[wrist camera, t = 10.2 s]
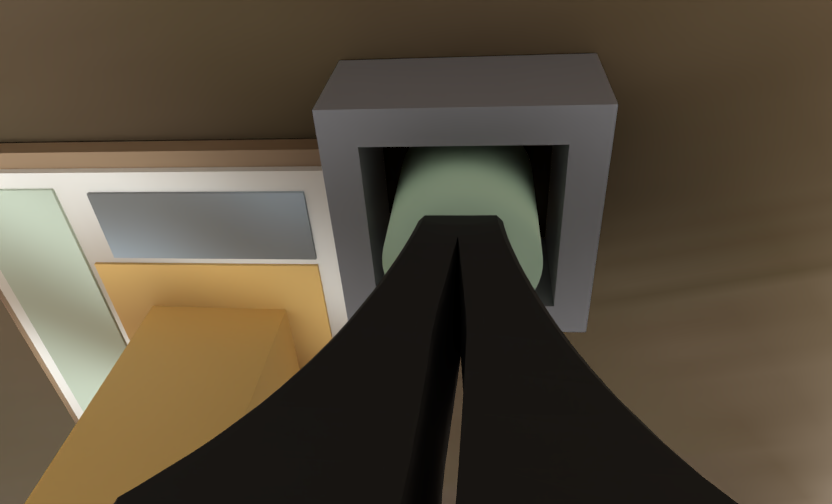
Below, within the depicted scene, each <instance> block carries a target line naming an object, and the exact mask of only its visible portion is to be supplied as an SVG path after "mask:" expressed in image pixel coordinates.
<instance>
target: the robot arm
mask: <svg viewBox="0 0 832 504" xmlns="http://www.w3.org/2000/svg"><path fill="white" fill-rule="evenodd" d="M460 357H461V365H462V379H463V409H462V425H461V440H460V455H459V470H458V483H457V496H456V504H738V503H736V502H735V501H734V500H732V499H731V498H730V497H728V496H727V495H726V494H724V493H723V492H722V491H721V490H719V489H718V488H717V487H715V486H714V485H713V484H711V483H710V482H709V481H707V480H706V479H705V478H703V477H702V476H701V475H700V474H699V473H698V472H696V471H695V470H694V469H693V468H692V467H691V466H689V465H688V464H687V463H686V462H685V461H684V460H683V459H681V458H680V457H679V456H678V455H677V454H676V453H675V452H673V451H672V450H671V449H670V448H669V447H668V446H666V445H665V444H664V443H663V442H662V441H661V440H660V439H659V438H658V437H657V436H656V435H655V434H654V433H653V432H652V431H651V430H650V429H649V428H648V427H647V426H646V425H645V424H644V423H643V422H642V421H641V420H640V419H639V418H638V417H637V416H636V415H634V414H633V413H632V412H631V411H630V410H629V409H628V408H627V407H626V406H625V405H624V404H623V403H622V402H621V401H620V400H619V399H618V398H617V397H616V396H615V395H614V394H613V393H612V391H611V390H610V389H609V388H608V387H607V386H606V385H605V384H604V382H603V381H602V380H601V379H600V378H599V377H598V376H597V375H596V374H595V372H594V371H593V370H592V369H591V368H590V367H589V365H588V364H587V363H586V362H585V360H584V359H583V358H582V357H581V356H580V354H579V353H578V352H577V351H576V349H575V348H574V347H573V346H572V344H571V343H570V342H569V340H568V339H567V338H566V336H565V335H564V334H563V332H562V331H561V330H560V328H559V327H558V325H557V324H556V322H555V321H554V319H553V318H552V316H551V315H550V314H549V312H548V311H547V309H546V308H545V306H544V304H543V303H542V301H541V300H540V298H539V297H538V295H537V293H536V292H535V290H534V288H533V286H532V285H531V283H530V281H529V279H528V278H527V276H526V274H525V272H524V271H523V269H522V267H521V265H520V263H519V261H518V259H517V257H516V255H515V252H514V250H513V248H512V246H511V244H510V241H509V239H508V236H507V233H506V230H505V227H504V223H503V221H502V220H501V219H500V218H499V217H498V216H497V215H425V216H423V217H422V218H421V219H420V220H419V221H418V223H417V225H416V227H415V229H414V230H413V232H412V234H411V236H410V238H409V239H408V241H407V242H406V244H405V246H404V247H403V249H402V250H401V252H400V254H399V255H398V257H397V258H396V260H395V261H394V263H393V264H392V265H391V267H390V268H389V270H388V271H387V272H386V274H385V275H384V277H383V278H382V279H381V281H380V282H379V284H378V285H377V286H376V288H375V289H374V290H373V291H372V293H371V294H370V295H369V296H368V298H367V299H366V300H365V301H364V302H363V304H362V305H361V306H360V307H359V309H358V310H357V311H356V312H355V313H354V315H353V316H352V317H351V318H350V319H349V321H348V322H347V323H346V324H345V325H344V326H343V327H342V328H341V329H340V331H339V332H338V333H337V334H336V335H335V336H334V337H333V338H332V339H331V340H330V341H329V342H328V343H327V344H326V345H325V346H324V347H323V348H322V349H321V350H320V351H319V352H318V353H317V354H316V355H315V356H314V357H313V358H312V359H311V360H310V361H309V362H308V363H307V364H306V365H305V366H304V367H302V368H301V369H300V370H299V371H298V372H297V373H296V374H295V375H293V376H292V377H291V378H290V379H289V380H288V381H287V382H286V383H285V384H283V385H282V386H281V387H280V388H279V389H278V390H276V391H275V392H274V393H273V394H272V395H270V396H269V397H268V398H267V399H266V400H264V401H263V402H262V403H261V404H259V405H258V406H257V407H255V408H254V409H253V410H251V411H250V412H249V413H247V414H246V415H245V416H243V417H242V418H240V419H239V420H238V421H236V422H235V423H234V424H232V425H231V426H230V427H228V428H227V429H226V430H224V431H223V432H222V433H220V434H219V435H217V436H216V437H214V438H213V439H212V440H210V441H209V442H207V443H206V444H204V445H203V446H201V447H200V448H198V449H197V450H195V451H194V452H192V453H190V454H189V455H187V456H186V457H184V458H182V459H181V460H179V461H177V462H176V463H174V464H172V465H171V466H169V467H168V468H166V469H164V470H163V471H161V472H159V473H158V474H156V475H154V476H153V477H151V478H150V479H148V480H146V481H145V482H143V483H141V484H140V485H138V486H136V487H135V488H133V489H131V490H130V491H128V492H126V493H124V494H123V495H121V496H119V497H118V498H117V499H116V501H115V502H114V504H442V489H443V479H444V469H445V462H446V455H447V448H448V441H449V434H450V427H451V420H452V413H453V406H454V400H455V393H456V386H457V379H458V372H459V365H460Z"/></svg>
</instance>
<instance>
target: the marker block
mask: <svg viewBox="0 0 832 504" xmlns="http://www.w3.org/2000/svg"><path fill="white" fill-rule="evenodd" d="M299 370H300V368H299V364H298V360H297V355H296V351H295V347H294V342H293V338H292V334H291V329H290V325H289V320H288V316H287V312H286V310H285V309H249V308H212V307H176V306H152V308H151V309H150V311H149V313H148V314H147V316H146V317H145V319H144V320H143V322H142V323H141V325H140V326H139V328H138V329H137V331H136V333H135V334H134V336H133V337H132V339H131V340H130V342H129V343H128V345H127V346H126V348H125V350H124V351H123V353H122V354H121V356H120V357H119V359H118V360H117V362H116V363H115V365H114V366H113V368H112V370H111V371H110V373H109V374H108V376H107V377H106V379H105V380H104V382H103V383H102V385H101V387H100V388H99V390H98V391H97V393H96V394H95V396H94V397H93V399H92V400H91V402H90V403H89V405H88V407H87V408H86V410H85V411H84V413H83V414H82V416H81V417H80V419H79V420H78V422H77V424H76V425H75V427H74V428H73V430H72V431H71V433H70V434H69V436H68V437H67V439H66V440H65V442H64V444H63V445H62V447H61V448H60V450H59V451H58V453H57V454H56V456H55V457H54V459H53V461H52V462H51V464H50V465H49V467H48V468H47V470H46V471H45V473H44V474H43V476H42V477H41V479H40V481H39V482H38V484H37V485H36V487H35V488H34V490H33V491H32V493H31V494H30V496H29V498H28V499H27V501H26V502H25V504H114V502H115V501H116V499H117V498H118V497H119V496H121V495H123V494H124V493H126V492H128V491H130V490H131V489H133V488H135V487H136V486H138V485H140V484H141V483H143V482H145V481H146V480H148V479H150V478H151V477H153V476H154V475H156V474H158V473H159V472H161V471H163V470H164V469H166V468H168V467H169V466H171V465H172V464H174V463H176V462H177V461H179V460H181V459H182V458H184V457H186V456H187V455H189V454H190V453H192V452H194V451H195V450H197V449H198V448H200V447H201V446H203V445H204V444H206V443H207V442H209V441H210V440H212V439H213V438H214V437H216V436H217V435H219V434H220V433H222V432H223V431H224V430H226V429H227V428H228V427H230V426H231V425H232V424H234V423H235V422H236V421H238V420H239V419H240V418H242V417H243V416H245V415H246V414H247V413H249V412H250V411H251V410H253V409H254V408H255V407H257V406H258V405H259V404H261V403H262V402H263V401H264V400H266V399H267V398H268V397H269V396H270V395H272V394H273V393H274V392H275V391H276V390H278V389H279V388H280V387H281V386H282V385H283V384H285V383H286V382H287V381H288V380H289V379H290V378H291V377H292V376H293V375H295V374H296V373H297V372H298V371H299Z"/></svg>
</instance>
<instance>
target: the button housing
mask: <svg viewBox="0 0 832 504" xmlns="http://www.w3.org/2000/svg"><path fill="white" fill-rule="evenodd" d="M617 110H618V103H617V100H616V98H615V95H614V93H613V91H612V88H611V86H610V83H609V81H608V79H607V76H606V74H605V71H604V69H603V67H602V64H601V62H600V60H599V57H598V55H597V53H588V54H552V55H517V56H481V57H445V58H410V59H374V60H339V62H338V64H337V66H336V67H335V69H334V71H333V73H332V75H331V77H330V78H329V80H328V82H327V84H326V86H325V88H324V89H323V91H322V93H321V95H320V97H319V98H318V100H317V102H316V104H315V106H314V108H313V109H312V113H313V119H314V124H315V130H316V136H317V142H318V148H319V154H320V160H321V166H322V171H323V177H324V183H325V189H326V195H327V201H328V207H329V213H330V218H331V224H332V230H333V236H334V242H335V248H336V254H337V260H338V265H339V271H340V277H341V283H342V289H343V295H344V301H345V307H346V312H347V318H348V321H349V319H350V318H351V317H352V316H353V315H354V313H355V312H356V311H357V310H358V309H359V307H360V306H361V305H362V304H363V302H364V301H365V300H366V299H367V298H368V296H369V295H370V294H371V293H372V291H373V290H374V289H375V288H376V286H377V285H378V284H379V282H380V281H381V279H382V278H383V277H384V275H385V274H384V270H383V265H382V254H383V247H384V242H385V238H386V234H387V229H388V225H389V220H390V212H389V202H388V192H387V183H386V173H385V163H384V153H383V147H423V146H504V145H552V155H551V168H550V181H549V194H548V206H547V219H546V232H545V238H541V246H542V255H543V269H542V275H541V278H540V281H539V283H538V285H537V287H536V289H535V292H536V293H537V295H538V297H539V298H540V300H541V301H542V303H543V304H544V306H545V308H546V309H547V311H548V312H549V314H550V315H551V316H552V318H553V319H554V321H555V322H556V324H557V325H558V327H559V328H560V330H561V331H562V332H586V328H587V321H588V314H589V307H590V300H591V293H592V286H593V279H594V272H595V265H596V258H597V251H598V244H599V237H600V229H601V222H602V215H603V208H604V201H605V194H606V187H607V180H608V173H609V166H610V159H611V152H612V145H613V138H614V131H615V124H616V117H617Z"/></svg>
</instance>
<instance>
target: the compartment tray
mask: <svg viewBox="0 0 832 504" xmlns="http://www.w3.org/2000/svg"><path fill="white" fill-rule="evenodd" d="M0 299H1V301H2V302H3V304H4V306H5V307H6V309H7V311H8V312H9V314H10V316H11V317H12V319H13V321H14V322H15V324H16V326H17V327H18V329H19V330H20V332H21V334H22V335H23V337H24V339H25V340H26V342H27V344H28V345H29V347H30V349H31V350H32V352H33V354H34V355H35V357H36V359H37V360H38V362H39V363H40V365H41V367H42V368H43V370H44V372H45V373H46V375H47V377H48V378H49V380H50V382H51V383H52V385H53V387H54V388H55V390H56V392H57V393H58V395H59V397H60V398H61V400H62V401H63V403H64V405H65V406H66V408H67V410H68V411H69V413H70V415H71V416H72V418H73V420H74V421H75V423H76V424H77V422H78V420H79V419H80V417H81V416H82V414H83V413H84V411H85V410H86V408H87V407H88V405H89V403H90V402H91V400H92V399H93V397H94V396H95V394H96V393H97V391H98V390H99V388H100V387H101V385H102V383H103V382H104V380H105V379H106V377H107V376H108V374H109V373H110V371H111V370H112V368H113V366H114V365H115V363H116V362H117V360H118V359H119V357H120V356H121V354H122V353H123V351H124V350H125V348H126V346H127V345H128V343H129V342H130V340H131V339H132V337H133V336H134V334H135V333H136V331H137V329H138V328H139V326H140V325H141V323H142V322H143V320H144V319H145V317H146V316H147V314H148V313H149V311H150V309H151V308H152V306H176V307H212V308H249V309H285V310H286V312H287V316H288V320H289V325H290V329H291V334H292V338H293V342H294V347H295V351H296V355H297V360H298V364H299V368H300V369H301V368H302V367H304V366H305V365H306V364H307V363H308V362H309V361H310V360H311V359H312V358H313V357H314V356H315V355H316V354H317V353H318V352H319V351H320V350H321V349H322V348H323V347H324V346H325V345H326V344H327V343H328V342H329V341H330V340H331V339H332V338H333V337H334V336H335V335H336V334H337V333H338V332H339V331H340V329H341V328H342V327H343V326H344V325H345V324H346V323H347V322H348V318H347V312H346V307H345V301H344V295H343V289H342V283H341V277H340V271H339V265H338V260H337V254H336V248H335V242H334V236H333V230H332V224H331V218H330V213H329V207H328V201H327V195H326V189H325V183H324V177H323V171H322V166H321V160H320V154H319V148H318V142H317V139H266V140H195V141H123V142H52V143H0Z"/></svg>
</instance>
